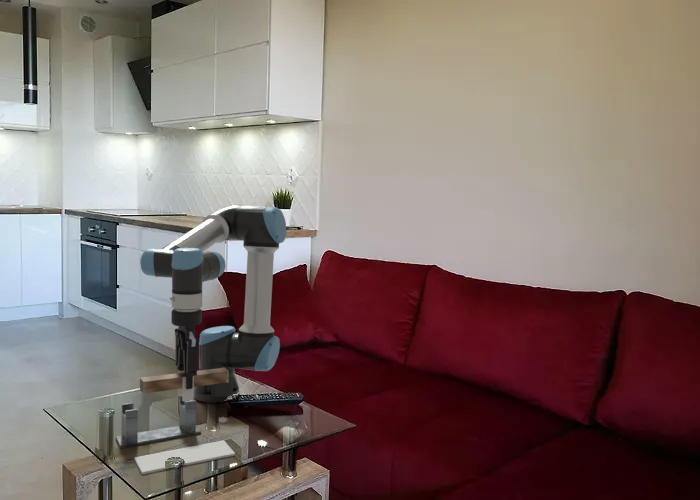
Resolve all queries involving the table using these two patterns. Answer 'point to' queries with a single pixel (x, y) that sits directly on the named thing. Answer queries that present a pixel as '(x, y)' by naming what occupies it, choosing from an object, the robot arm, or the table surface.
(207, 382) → the rail
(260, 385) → the table surface
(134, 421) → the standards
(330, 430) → the table surface
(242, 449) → the table surface
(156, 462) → the mat
